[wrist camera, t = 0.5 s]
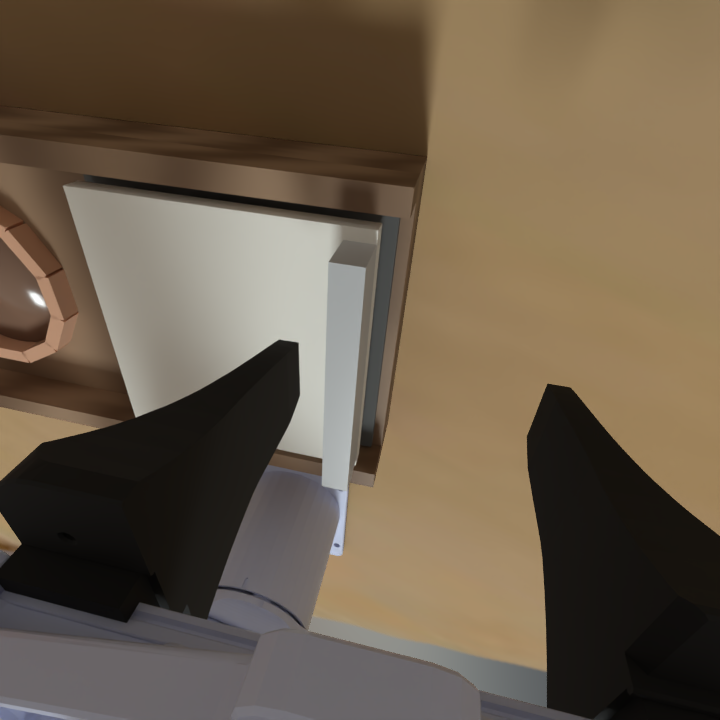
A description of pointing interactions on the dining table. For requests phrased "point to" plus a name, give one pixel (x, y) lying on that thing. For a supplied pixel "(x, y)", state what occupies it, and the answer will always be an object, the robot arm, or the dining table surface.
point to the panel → (382, 284)
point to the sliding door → (235, 302)
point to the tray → (193, 171)
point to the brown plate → (31, 295)
